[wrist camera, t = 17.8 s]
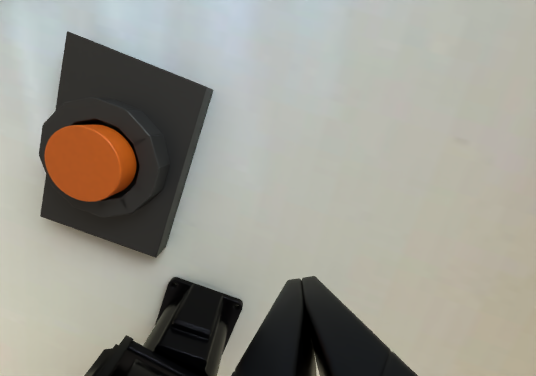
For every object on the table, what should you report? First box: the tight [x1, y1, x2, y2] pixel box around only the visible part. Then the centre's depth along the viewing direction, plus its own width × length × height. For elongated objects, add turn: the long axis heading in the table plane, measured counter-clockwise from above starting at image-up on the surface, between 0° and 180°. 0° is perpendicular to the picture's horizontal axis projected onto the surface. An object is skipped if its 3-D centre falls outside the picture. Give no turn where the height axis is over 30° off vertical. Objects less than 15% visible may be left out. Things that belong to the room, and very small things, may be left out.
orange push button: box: [45, 125, 137, 202], centre depth 15 cm, size 4×4×2 cm
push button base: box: [39, 32, 213, 257], centre depth 17 cm, size 13×9×4 cm
